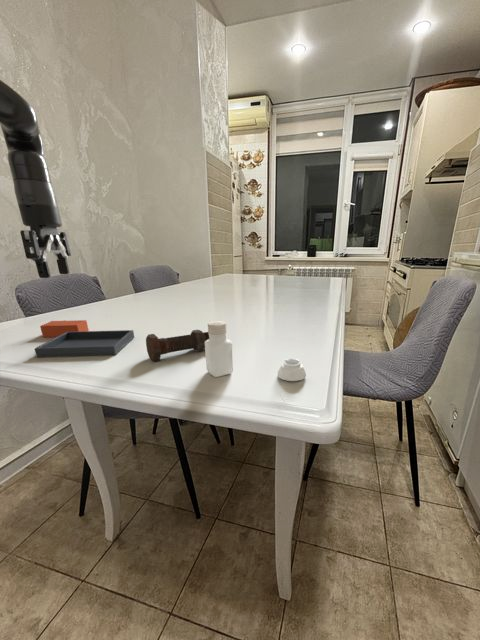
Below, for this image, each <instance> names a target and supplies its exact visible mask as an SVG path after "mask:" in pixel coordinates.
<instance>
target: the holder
mask: <svg viewBox="0 0 480 640" xmlns="http://www.w3.org/2000/svg"><path fill="white" fill-rule="evenodd" d="M134 339H135V331H134V329H129V330H128V329H125V330H124V329H121V330H89V331H80V332H65V333H63V334H61V335H59V336H57V337H53V338H52V339H50V340H48V341H46V342H44V343H42V344H40V345H39V346H37V347H35V348H33V349H34V353H35V356H36V358H60V357H61V358H62V357H63V358H65V357H66V358H67V357H93V356H95V357H96V356H98V357H99V356H116V355H118V354H119V353H120V352H121V351H122V350H123V349H124V348H125V347H126V346H127V345H128V344H130V342H132V341H133V340H134Z"/></svg>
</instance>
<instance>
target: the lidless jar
mask: <svg viewBox="0 0 480 640" xmlns="http://www.w3.org/2000/svg"><path fill="white" fill-rule="evenodd" d="M277 377H278V378H279V379H281V380H284V381H288V382H298V381H302V380H304V379H305V378H306V377H307V373H306V370H305V368H304V366H303V364H302V363H301V360H299V359H297V358H286V359H284V360H283V362H282V364H280V366H279V368H278V370H277Z"/></svg>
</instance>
